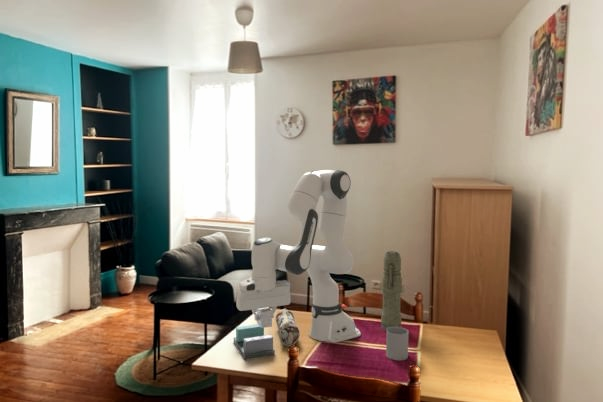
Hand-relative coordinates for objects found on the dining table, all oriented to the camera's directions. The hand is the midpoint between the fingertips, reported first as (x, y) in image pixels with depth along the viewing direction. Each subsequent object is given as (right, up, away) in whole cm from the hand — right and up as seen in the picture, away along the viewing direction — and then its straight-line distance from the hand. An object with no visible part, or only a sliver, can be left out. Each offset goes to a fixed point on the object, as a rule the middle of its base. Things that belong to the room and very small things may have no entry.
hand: (264, 318), depth 162 cm
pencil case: (+8, -15, +27) cm, 32 cm away
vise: (-6, -16, +14) cm, 22 cm away
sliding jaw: (-7, -13, +19) cm, 24 cm away
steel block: (0, -2, 0) cm, 2 cm away
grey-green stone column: (+54, -14, +36) cm, 67 cm away
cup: (+51, -17, +8) cm, 54 cm away
